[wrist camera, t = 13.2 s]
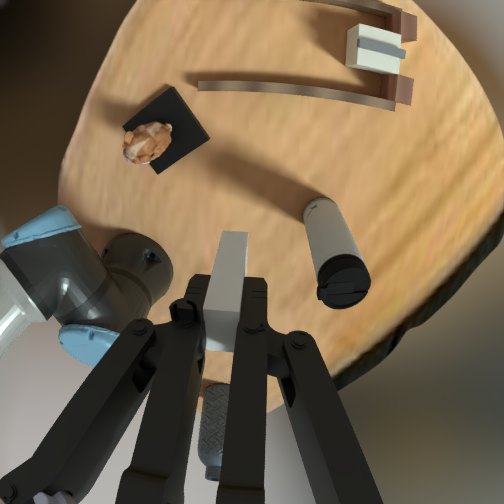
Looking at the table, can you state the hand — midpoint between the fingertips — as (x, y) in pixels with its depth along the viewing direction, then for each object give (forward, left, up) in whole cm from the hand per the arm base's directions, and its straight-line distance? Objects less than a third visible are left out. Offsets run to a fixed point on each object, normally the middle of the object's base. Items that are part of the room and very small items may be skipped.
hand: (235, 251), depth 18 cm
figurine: (-14, +2, -30) cm, 33 cm away
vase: (-5, -70, -30) cm, 76 cm away
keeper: (+15, +17, -29) cm, 37 cm away
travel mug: (+12, -11, -30) cm, 34 cm away
